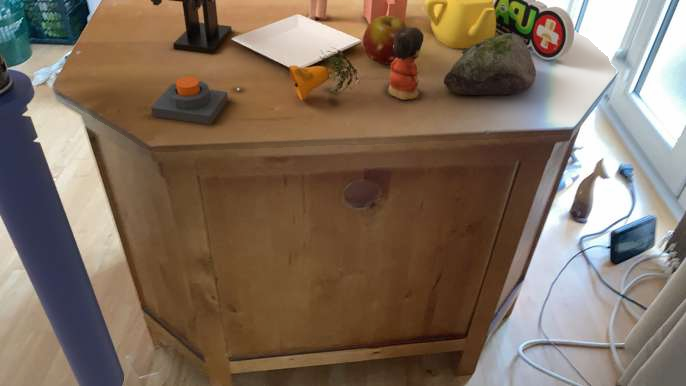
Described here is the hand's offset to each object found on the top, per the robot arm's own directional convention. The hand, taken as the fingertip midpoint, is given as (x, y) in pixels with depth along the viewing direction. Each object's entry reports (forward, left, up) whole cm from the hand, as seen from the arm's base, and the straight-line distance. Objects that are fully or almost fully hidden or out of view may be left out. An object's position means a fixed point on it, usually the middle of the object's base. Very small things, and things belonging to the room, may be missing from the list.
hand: (177, 6), depth 101 cm
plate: (+19, +11, -11) cm, 25 cm away
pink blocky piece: (+34, +29, -11) cm, 46 cm away
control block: (+8, -16, -10) cm, 21 cm away
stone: (+56, +6, -11) cm, 58 cm away
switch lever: (0, +5, -1) cm, 5 cm away
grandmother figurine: (+20, +27, -11) cm, 35 cm away
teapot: (+50, +26, -11) cm, 57 cm away
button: (+8, -16, -7) cm, 19 cm away
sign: (+65, +26, -11) cm, 70 cm away
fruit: (+37, +11, -11) cm, 40 cm away
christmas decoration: (+25, -9, -11) cm, 28 cm away
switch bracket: (0, +9, -10) cm, 14 cm away
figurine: (+42, -2, -11) cm, 43 cm away
